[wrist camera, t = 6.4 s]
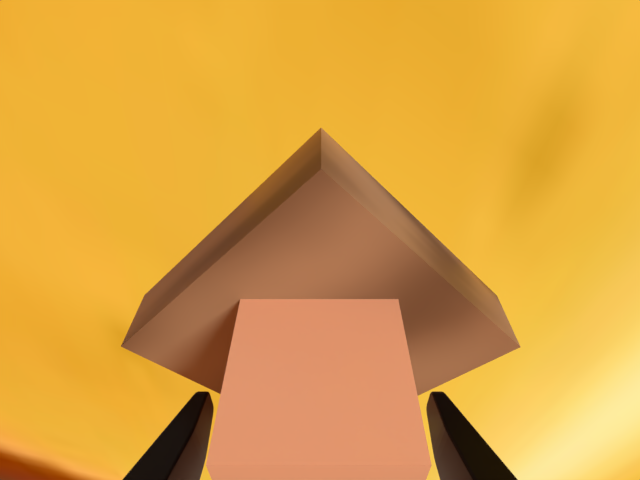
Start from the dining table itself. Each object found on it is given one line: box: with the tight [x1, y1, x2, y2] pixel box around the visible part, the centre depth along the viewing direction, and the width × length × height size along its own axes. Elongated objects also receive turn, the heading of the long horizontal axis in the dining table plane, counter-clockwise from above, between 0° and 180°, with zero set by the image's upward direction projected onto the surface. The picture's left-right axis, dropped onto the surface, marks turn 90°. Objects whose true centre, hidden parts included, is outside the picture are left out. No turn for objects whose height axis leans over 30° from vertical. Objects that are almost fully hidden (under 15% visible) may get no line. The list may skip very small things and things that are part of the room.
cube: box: [206, 299, 432, 480], centre depth 13 cm, size 5×5×5 cm
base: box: [121, 128, 520, 395], centre depth 16 cm, size 10×10×2 cm
